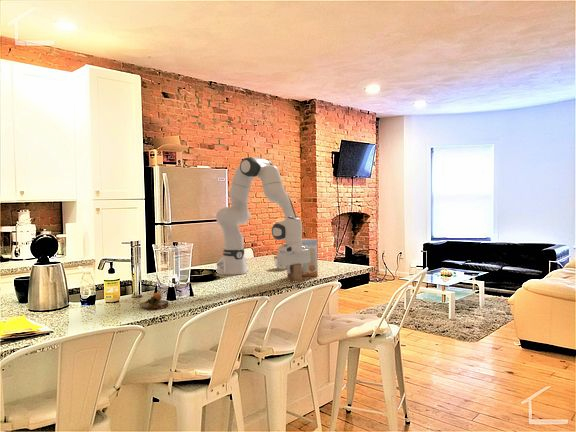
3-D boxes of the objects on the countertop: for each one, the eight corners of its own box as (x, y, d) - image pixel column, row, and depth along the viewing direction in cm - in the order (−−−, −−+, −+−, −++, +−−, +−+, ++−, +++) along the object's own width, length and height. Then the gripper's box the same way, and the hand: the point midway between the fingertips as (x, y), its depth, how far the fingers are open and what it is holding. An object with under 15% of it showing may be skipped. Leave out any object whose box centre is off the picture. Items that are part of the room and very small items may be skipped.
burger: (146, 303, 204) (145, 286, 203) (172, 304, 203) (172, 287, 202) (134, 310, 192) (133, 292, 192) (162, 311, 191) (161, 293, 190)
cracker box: (317, 274, 268) (317, 238, 266) (317, 276, 262) (317, 239, 261) (293, 274, 269) (292, 238, 268) (292, 276, 263) (292, 239, 262)
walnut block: (287, 280, 251) (287, 263, 251) (294, 279, 254) (294, 262, 254) (294, 282, 247) (294, 265, 246) (301, 281, 250) (301, 264, 249)
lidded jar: (271, 269, 287) (271, 254, 287) (277, 266, 297) (277, 252, 297) (288, 270, 284) (288, 254, 283) (293, 267, 294) (293, 252, 294)
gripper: (305, 245, 258) (305, 269, 259) (275, 248, 246) (275, 274, 247) (312, 245, 253) (313, 271, 254) (282, 249, 241) (282, 275, 242)
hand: (294, 272), depth 250 cm, fingers open, 5 cm apart
